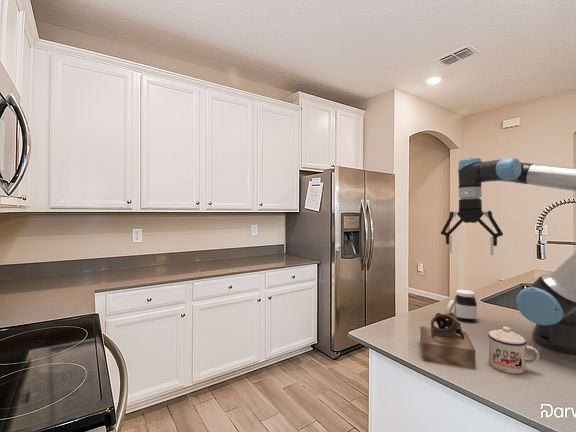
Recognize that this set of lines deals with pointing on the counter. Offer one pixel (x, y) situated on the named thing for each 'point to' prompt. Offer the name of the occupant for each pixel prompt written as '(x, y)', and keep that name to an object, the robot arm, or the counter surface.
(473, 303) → the spread jar
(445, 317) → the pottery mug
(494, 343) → the teacup with lid
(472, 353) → the walnut block
